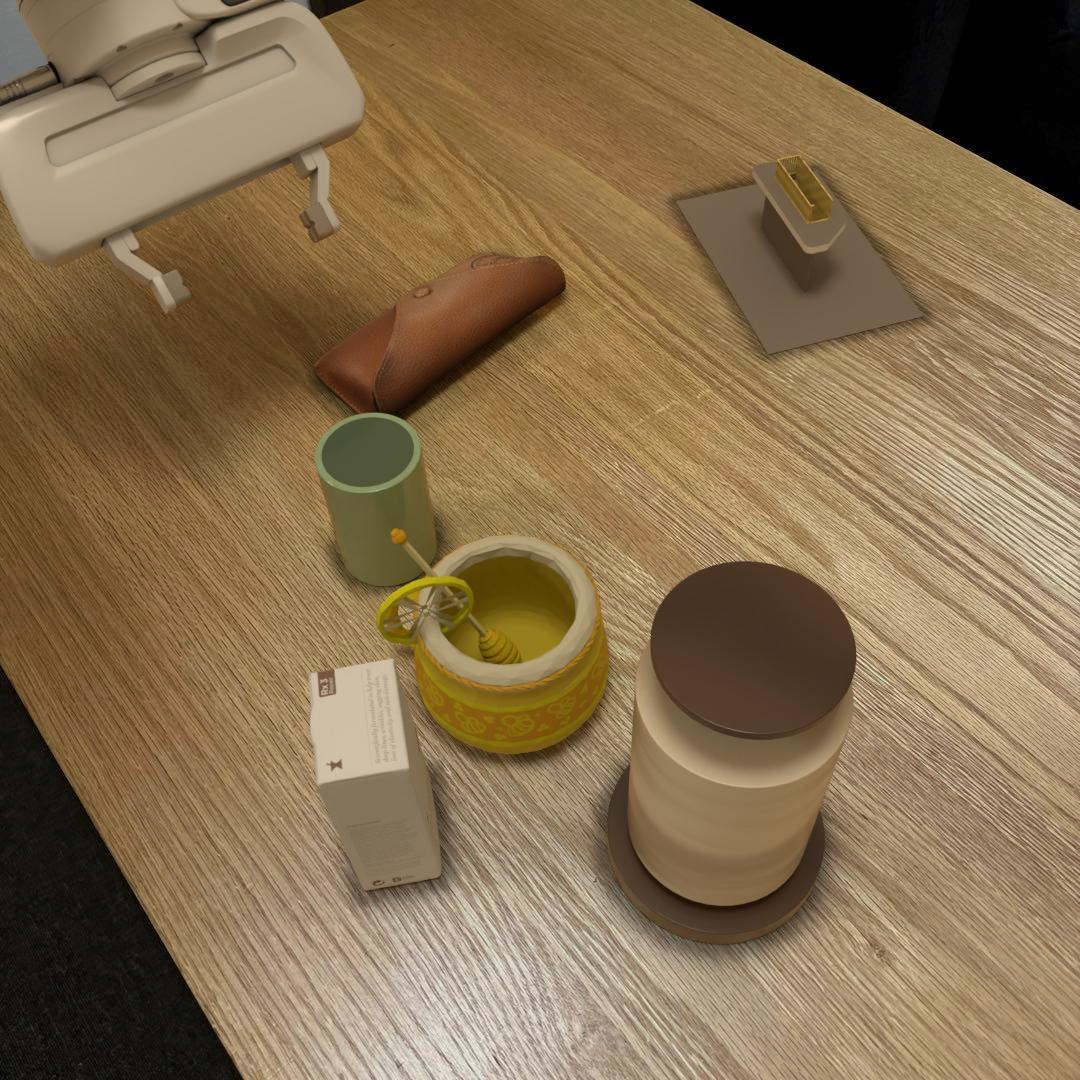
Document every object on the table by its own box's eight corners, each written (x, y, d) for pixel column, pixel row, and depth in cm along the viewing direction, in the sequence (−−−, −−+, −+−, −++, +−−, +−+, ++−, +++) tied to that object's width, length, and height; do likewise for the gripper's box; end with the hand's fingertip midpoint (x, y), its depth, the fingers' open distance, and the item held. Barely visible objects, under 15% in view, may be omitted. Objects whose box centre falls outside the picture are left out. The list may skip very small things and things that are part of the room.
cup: (424, 593, 72) (405, 499, 65) (328, 579, 73) (300, 485, 65) (447, 516, 75) (432, 418, 68) (356, 503, 76) (332, 406, 69)
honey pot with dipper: (630, 624, 70) (637, 494, 60) (577, 789, 64) (575, 674, 54) (427, 574, 73) (402, 443, 63) (357, 728, 66) (318, 608, 57)
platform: (816, 170, 95) (829, 96, 90) (924, 316, 85) (946, 242, 79) (675, 201, 93) (680, 128, 88) (768, 354, 83) (780, 281, 78)
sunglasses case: (485, 244, 90) (514, 199, 84) (545, 315, 90) (577, 276, 84) (302, 371, 83) (319, 332, 77) (368, 449, 83) (390, 416, 77)
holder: (814, 963, 58) (893, 794, 43) (590, 922, 59) (590, 745, 44) (825, 760, 64) (898, 550, 49) (623, 728, 66) (634, 515, 51)
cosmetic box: (445, 878, 61) (418, 772, 51) (358, 895, 61) (314, 791, 51) (429, 770, 65) (402, 652, 55) (347, 785, 64) (305, 669, 55)
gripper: (-66, 85, 57) (85, 345, 60) (302, -54, 64) (422, 185, 67) (-58, 125, 63) (80, 359, 66) (279, -7, 70) (390, 211, 73)
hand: (255, 270), depth 67 cm, fingers open, 8 cm apart
